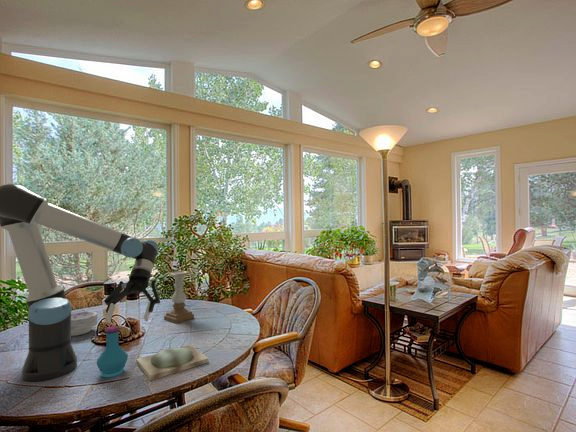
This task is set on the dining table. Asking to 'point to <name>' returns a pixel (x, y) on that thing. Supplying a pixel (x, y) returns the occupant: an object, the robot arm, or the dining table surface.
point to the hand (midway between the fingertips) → (126, 320)
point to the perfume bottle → (112, 355)
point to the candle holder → (178, 300)
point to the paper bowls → (82, 322)
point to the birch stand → (171, 361)
